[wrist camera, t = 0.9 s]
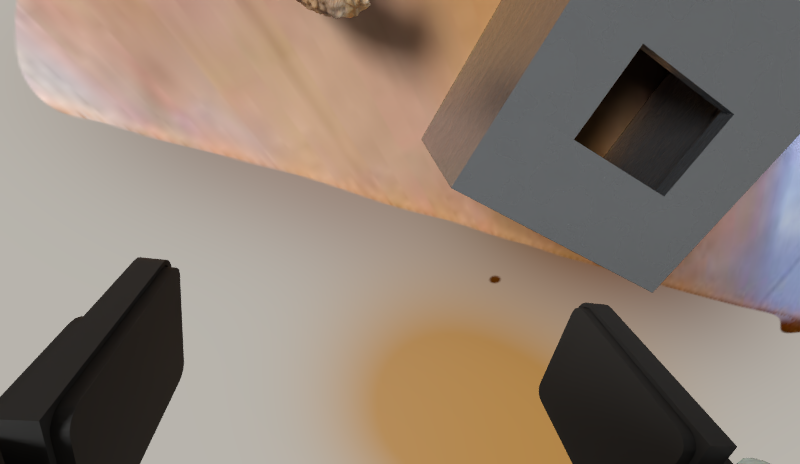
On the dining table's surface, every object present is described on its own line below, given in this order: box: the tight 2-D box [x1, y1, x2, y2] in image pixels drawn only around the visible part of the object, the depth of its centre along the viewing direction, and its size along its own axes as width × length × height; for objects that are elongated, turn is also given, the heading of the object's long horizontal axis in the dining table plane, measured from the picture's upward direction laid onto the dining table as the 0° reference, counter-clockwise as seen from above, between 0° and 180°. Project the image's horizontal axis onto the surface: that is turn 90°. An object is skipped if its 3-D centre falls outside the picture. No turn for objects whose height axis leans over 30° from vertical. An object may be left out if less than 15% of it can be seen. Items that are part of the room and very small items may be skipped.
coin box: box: [422, 0, 800, 292], centre depth 30 cm, size 18×18×12 cm
